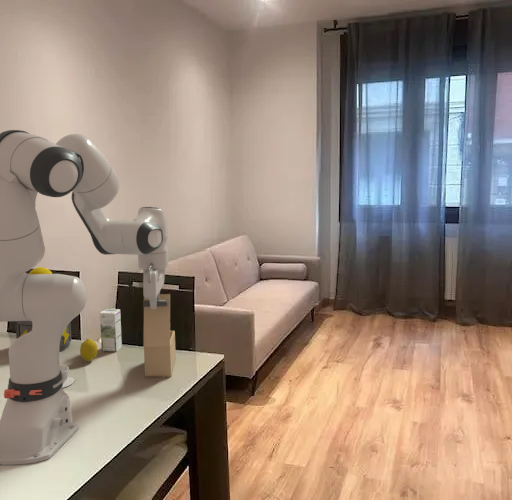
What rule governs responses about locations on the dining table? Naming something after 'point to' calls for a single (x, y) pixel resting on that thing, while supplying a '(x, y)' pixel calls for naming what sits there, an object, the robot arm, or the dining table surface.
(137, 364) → the dining table surface
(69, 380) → the teacup
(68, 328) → the decorative lamp
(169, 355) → the carton
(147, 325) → the lid flap
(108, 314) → the syrup box
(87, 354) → the lemon
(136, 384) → the dining table surface
